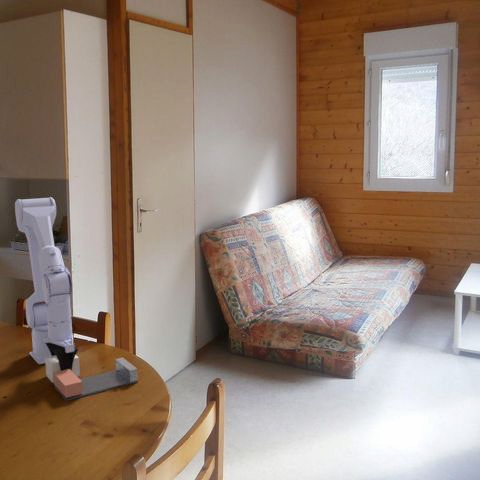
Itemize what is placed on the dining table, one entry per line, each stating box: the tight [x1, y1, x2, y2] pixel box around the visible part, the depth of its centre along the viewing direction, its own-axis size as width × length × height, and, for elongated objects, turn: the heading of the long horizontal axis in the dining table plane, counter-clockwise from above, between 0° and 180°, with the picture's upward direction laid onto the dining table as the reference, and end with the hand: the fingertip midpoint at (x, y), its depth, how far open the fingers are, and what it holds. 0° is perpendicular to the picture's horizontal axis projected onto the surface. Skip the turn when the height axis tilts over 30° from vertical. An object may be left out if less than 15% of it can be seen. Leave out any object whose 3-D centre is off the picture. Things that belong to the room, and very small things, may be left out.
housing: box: [45, 354, 81, 384], centre depth 149 cm, size 5×7×5 cm
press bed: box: [53, 357, 139, 402], centre depth 144 cm, size 9×18×4 cm, turn 124°
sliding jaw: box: [53, 369, 83, 398], centre depth 140 cm, size 9×4×3 cm, turn 34°
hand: (62, 370), depth 150 cm, fingers closed on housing, 5 cm apart
